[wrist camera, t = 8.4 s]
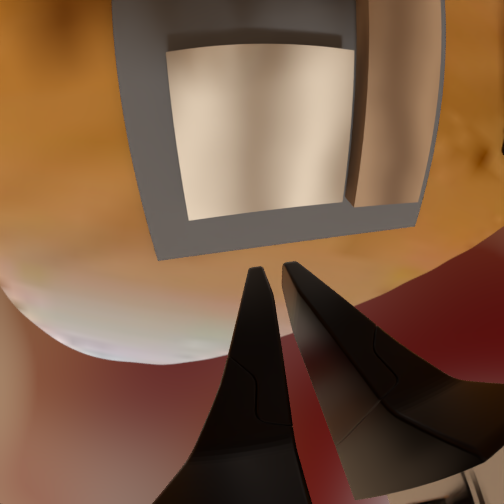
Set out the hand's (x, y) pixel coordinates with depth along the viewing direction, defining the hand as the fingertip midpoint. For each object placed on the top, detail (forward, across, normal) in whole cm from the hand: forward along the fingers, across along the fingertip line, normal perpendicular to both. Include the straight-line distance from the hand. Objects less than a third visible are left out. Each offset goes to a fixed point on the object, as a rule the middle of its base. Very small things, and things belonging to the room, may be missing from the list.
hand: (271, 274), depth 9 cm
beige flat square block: (+10, -2, -2) cm, 11 cm away
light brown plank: (+10, -11, -9) cm, 18 cm away
